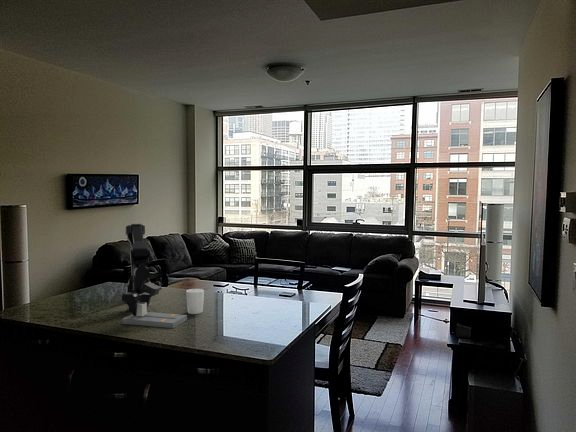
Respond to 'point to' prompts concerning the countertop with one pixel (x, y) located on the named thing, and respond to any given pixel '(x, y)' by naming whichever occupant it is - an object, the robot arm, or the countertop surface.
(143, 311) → the fader cap
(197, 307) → the white cup
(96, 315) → the countertop surface
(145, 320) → the slider track base
